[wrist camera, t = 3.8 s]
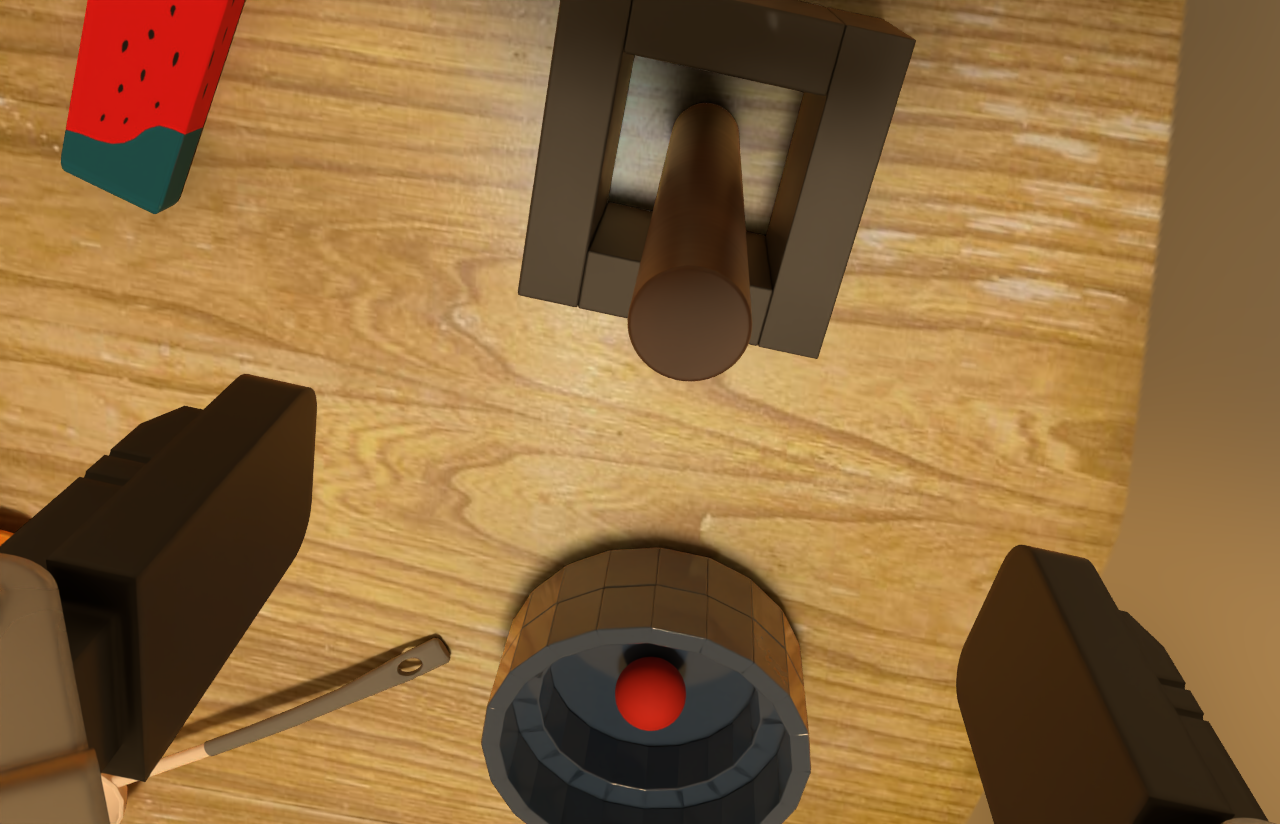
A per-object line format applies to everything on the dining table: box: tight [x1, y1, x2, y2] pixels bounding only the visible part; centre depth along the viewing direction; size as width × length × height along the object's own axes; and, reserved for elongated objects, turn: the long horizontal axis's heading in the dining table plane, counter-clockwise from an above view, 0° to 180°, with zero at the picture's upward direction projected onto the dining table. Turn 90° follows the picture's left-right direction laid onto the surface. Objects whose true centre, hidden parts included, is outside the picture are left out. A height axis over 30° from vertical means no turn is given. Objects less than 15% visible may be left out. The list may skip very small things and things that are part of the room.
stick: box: [628, 103, 752, 381], centre depth 27 cm, size 2×2×18 cm
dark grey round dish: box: [481, 547, 811, 824], centre depth 43 cm, size 14×14×6 cm
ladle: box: [101, 638, 450, 824], centre depth 49 cm, size 6×28×5 cm, turn 116°
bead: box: [615, 657, 686, 731], centre depth 44 cm, size 3×3×3 cm
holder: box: [518, 0, 916, 359], centre depth 32 cm, size 10×10×6 cm
